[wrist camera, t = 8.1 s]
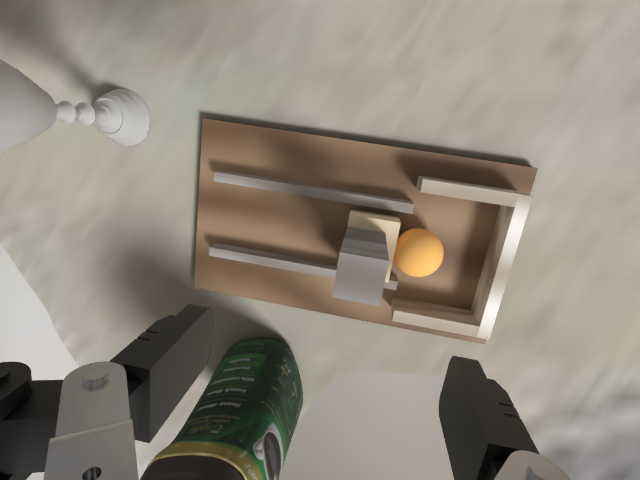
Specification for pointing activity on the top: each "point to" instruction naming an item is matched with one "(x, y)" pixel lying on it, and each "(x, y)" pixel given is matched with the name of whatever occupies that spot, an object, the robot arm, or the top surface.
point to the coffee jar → (238, 419)
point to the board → (332, 220)
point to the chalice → (65, 112)
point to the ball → (418, 252)
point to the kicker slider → (366, 256)
